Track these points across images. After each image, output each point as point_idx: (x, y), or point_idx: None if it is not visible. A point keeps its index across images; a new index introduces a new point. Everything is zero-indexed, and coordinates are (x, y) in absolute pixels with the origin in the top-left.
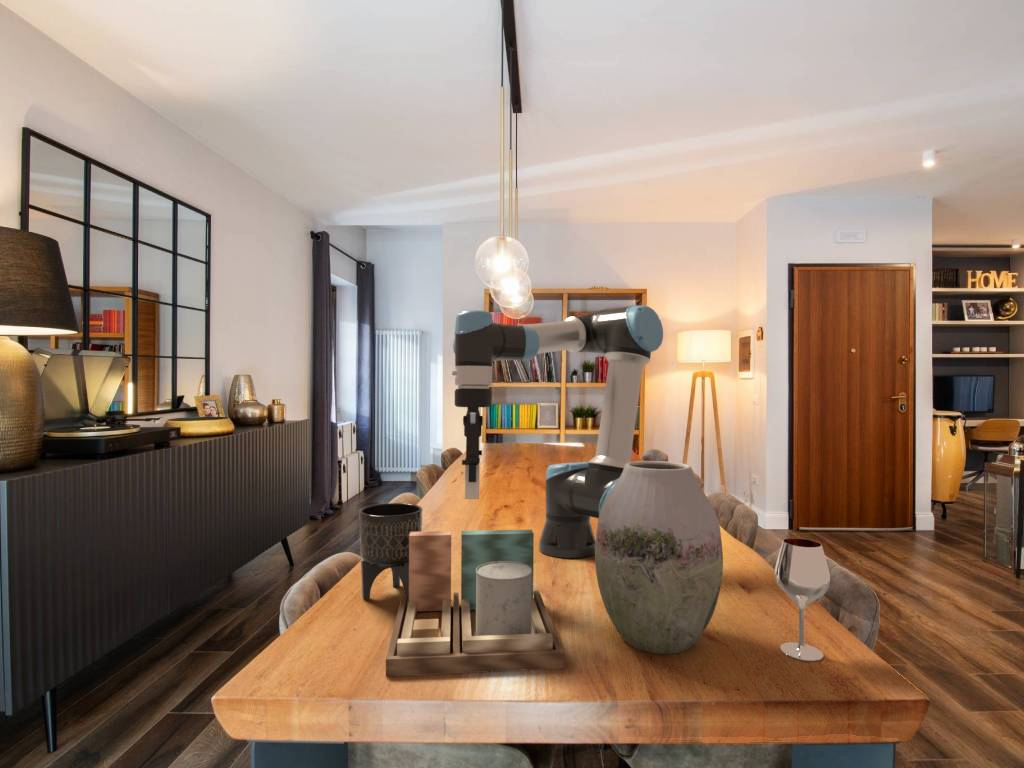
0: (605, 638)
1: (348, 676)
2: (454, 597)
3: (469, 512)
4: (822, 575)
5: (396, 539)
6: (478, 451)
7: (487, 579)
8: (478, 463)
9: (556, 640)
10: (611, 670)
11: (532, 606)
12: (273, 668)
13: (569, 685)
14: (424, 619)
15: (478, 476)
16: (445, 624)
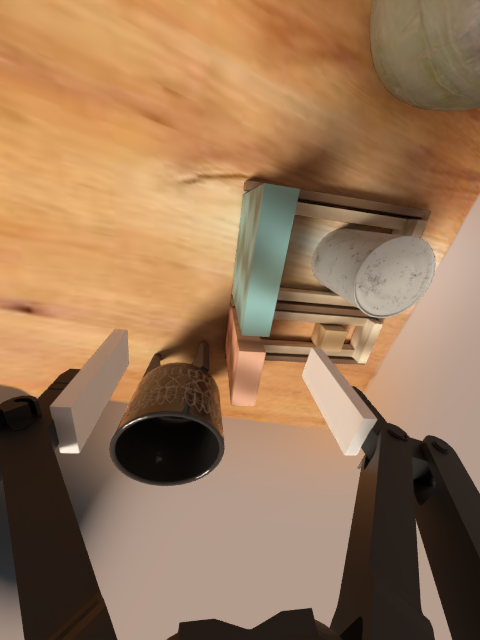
0: (383, 122)
1: (346, 378)
2: None
3: None
4: None
5: (220, 410)
6: (472, 483)
7: (408, 305)
8: (401, 430)
9: (405, 210)
10: (447, 156)
11: (298, 208)
12: (316, 418)
13: (444, 216)
14: (322, 342)
15: (351, 390)
16: (314, 319)
